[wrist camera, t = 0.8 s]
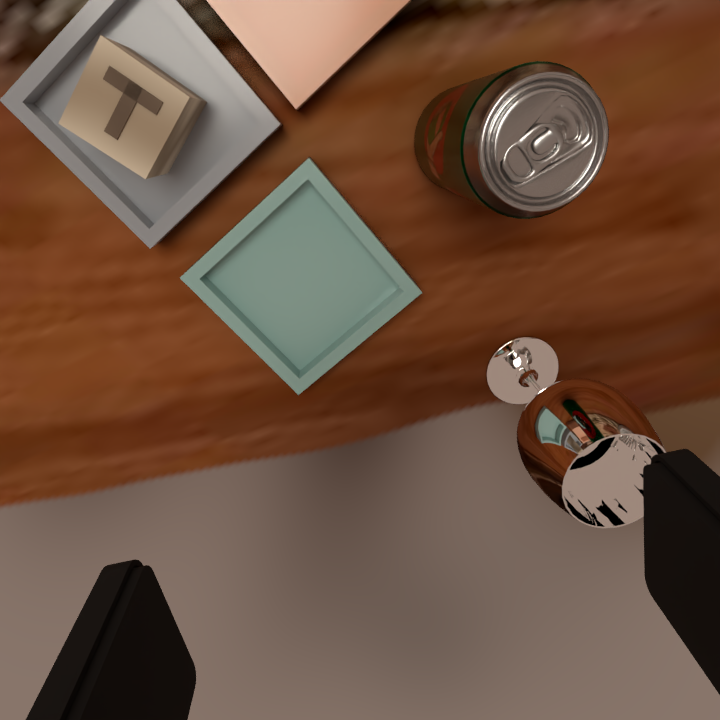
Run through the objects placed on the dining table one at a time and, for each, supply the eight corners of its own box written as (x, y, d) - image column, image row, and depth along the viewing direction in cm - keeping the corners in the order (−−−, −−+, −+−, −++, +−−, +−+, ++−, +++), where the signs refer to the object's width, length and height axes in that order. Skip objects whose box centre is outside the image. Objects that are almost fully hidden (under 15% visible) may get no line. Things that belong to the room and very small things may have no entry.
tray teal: (309, 156, 30) (309, 157, 28) (417, 284, 33) (422, 292, 31) (187, 270, 31) (179, 277, 30) (299, 382, 34) (298, 394, 33)
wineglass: (478, 419, 36) (549, 548, 25) (472, 333, 34) (547, 432, 23) (569, 405, 36) (680, 528, 25) (568, 319, 34) (690, 410, 23)
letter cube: (130, 48, 27) (99, 34, 23) (207, 101, 28) (189, 96, 24) (92, 124, 28) (57, 123, 24) (167, 173, 29) (144, 179, 25)
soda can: (527, 146, 30) (648, 155, 19) (450, 210, 31) (522, 253, 20) (472, 63, 29) (570, 18, 17) (392, 132, 30) (436, 132, 18)
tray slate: (146, -39, 26) (134, -50, 24) (282, 124, 29) (280, 124, 27) (18, 101, 28) (-1, 100, 26) (159, 242, 31) (150, 248, 29)
